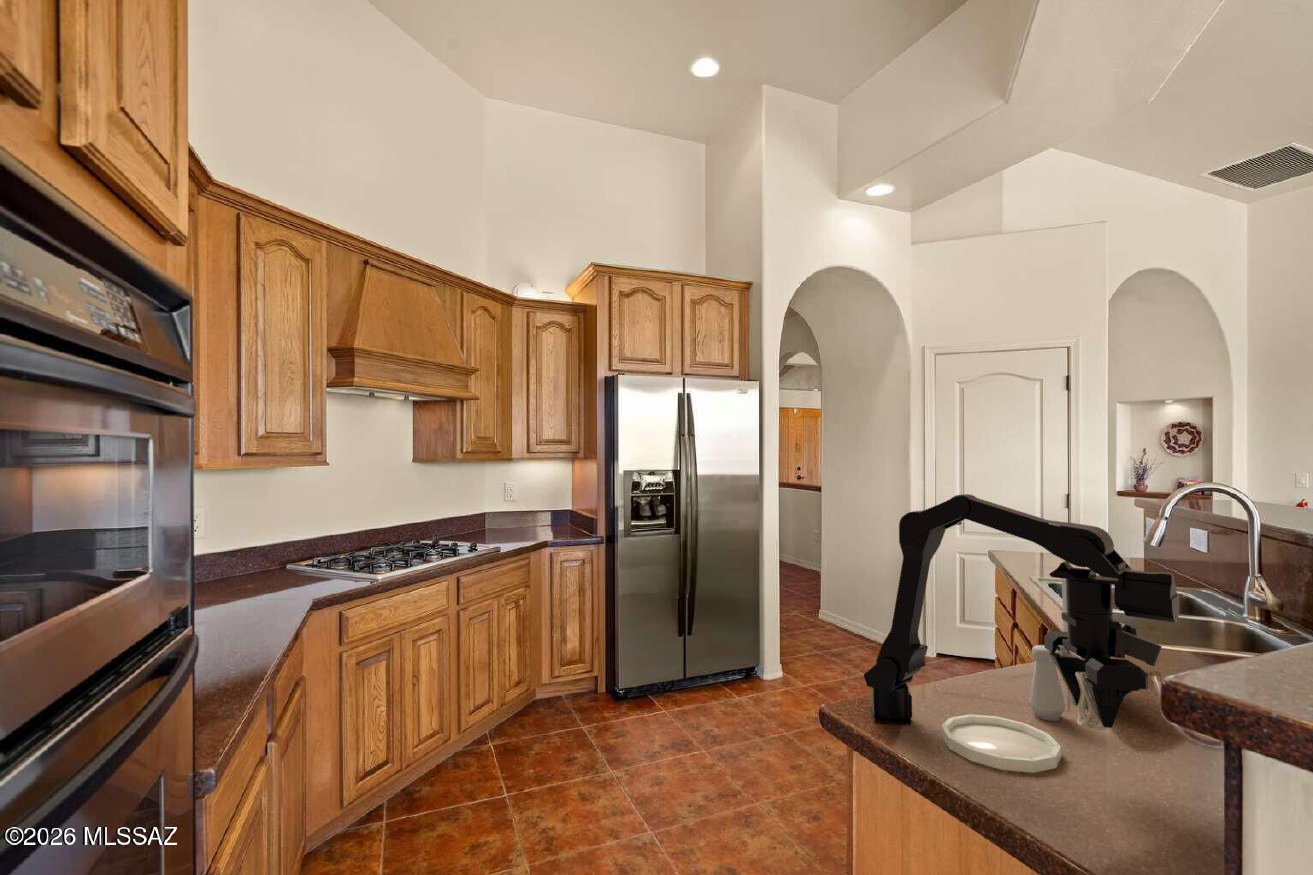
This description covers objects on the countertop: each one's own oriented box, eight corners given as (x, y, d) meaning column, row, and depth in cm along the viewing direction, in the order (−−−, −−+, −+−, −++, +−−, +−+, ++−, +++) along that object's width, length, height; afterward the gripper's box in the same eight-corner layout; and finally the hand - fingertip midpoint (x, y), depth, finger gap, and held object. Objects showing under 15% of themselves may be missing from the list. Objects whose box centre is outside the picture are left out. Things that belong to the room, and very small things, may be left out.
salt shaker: (1071, 724, 111) (1068, 652, 112) (1036, 721, 112) (1034, 650, 113) (1057, 711, 117) (1054, 643, 118) (1024, 709, 118) (1022, 641, 119)
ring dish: (958, 765, 96) (958, 754, 96) (933, 721, 113) (933, 711, 113) (1079, 776, 93) (1078, 764, 93) (1034, 729, 109) (1034, 718, 109)
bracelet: (1078, 734, 89) (1076, 679, 89) (1075, 715, 96) (1073, 663, 96) (1112, 740, 87) (1110, 684, 87) (1106, 720, 94) (1105, 668, 94)
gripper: (1191, 629, 81) (1196, 748, 81) (1117, 599, 99) (1120, 696, 99) (1096, 625, 84) (1101, 741, 83) (1041, 596, 102) (1044, 691, 101)
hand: (1093, 715), depth 91 cm, fingers closed on bracelet, 8 cm apart
